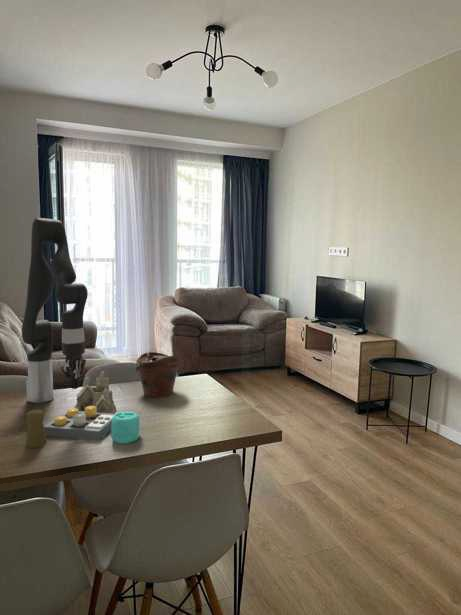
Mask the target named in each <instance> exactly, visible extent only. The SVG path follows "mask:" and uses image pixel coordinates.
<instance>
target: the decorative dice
mask: <svg viewBox="0 0 461 615" xmlns="http://www.w3.org/2000/svg"><path fill="white" fill-rule="evenodd" d="M114 414H115V415H114V416H113V418H112V425H111V430H110V432H111V439H112V440H113V441H114V442H115V443H118V444H130V443H133V442H136V441H137V440H138V439H139V436H140V416H139V414H138V413H136V412H134V411H130V410H129V411H127V410H126V411H120V412H117V413H114Z"/></svg>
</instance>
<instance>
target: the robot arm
mask: <svg viewBox="0 0 461 615" xmlns="http://www.w3.org/2000/svg"><path fill="white" fill-rule="evenodd" d="M66 233H67V232H66V228H65V225H64V223H63V222H62V221H61V220H59V219H53V218H42V217H41V218H40V217H37V218H35V219H33V222H32V227H31V245H30V246H31V247H30V248H31V249H30V250H31V251H30V253H31V254H30V263H29V264H30V265H29V273H28V280H27V290H26V291H27V295H26V304H25V310H24V315H23V320H22V326H21V338H22V341H23V343H24V344H25V345H35V344H38V345H37V346H36V348H34V349H32V350H31V351H30V350H29V352H28V353H27V355H26V356H27V357H26V358H27V373H28V374H27V377H26V379H25V381H26V382H25V384H26V401H27V402H30V403H33V404H43V403H47V402H50V401H52V400H54V381H53V380H54V378H53V376H54V375H53V359H52V358H53V357H52V356H53V355H52V354H53V343H54V342H53V341H54V340H53V338H54V336H53V334H54V332H53V330H54V329H53V326H52V324H51V322H50V321H49V320H48V319H39V320H38V316H39V314H40V311H41V310H42V308H43V307H44V306H45V305H46V303H47V302H48V301H49V299H50V298H51V297H52V294H53V292H54V291H53V290H54V285H55V296H54V297H55V299H56V301H57V302H58V303H59V304H60V305H74V306H73V307H72V309H69V310H65V311H63V312H62V314H61V348H62V349H61V351H62V352H61V353H62V355H64V356H65V360H64V361H65V364H64V365H63V366H62V365H61V370H62V372H63V374H64V375H65V377H66V378H67V379H69V380H70V388H71V389H72V390H77V389H79V387H80V384H79V383H80V382H79V378H80V377H81V375H82V374H83V372H84V369H85V364H86V363H87V360H86V359H85V358H83V354H85V353H86V349H85V348H86V346H85V341H86V340H85V330H84V312H85V308H86V303H87V299H88V296H89V295H88V294H89V292H88V288H87V286H86V285H85V284H84V283H79V282H78V283H74V282H76V281H77V275H76V271H75V269H74V265H73V263H72V260H71V257H70V250H69V243H68V239H67V234H66ZM43 244H49V245H50V244H51V245H56V246H57V249H56V252H55V253H54V255H53V257H52V259H51V266H50V265H49V264H48V262H47V260H46V258H45V256H44V251H43ZM54 283H55V284H54Z"/></svg>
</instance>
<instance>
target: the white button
mask: <svg viewBox="0 0 461 615" xmlns="http://www.w3.org/2000/svg"><path fill="white" fill-rule="evenodd" d="M85 424H86V415H85V414H76V415H74V416H73V425H74V426H84V425H85Z"/></svg>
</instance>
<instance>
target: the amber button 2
mask: <svg viewBox="0 0 461 615" xmlns="http://www.w3.org/2000/svg"><path fill="white" fill-rule="evenodd" d="M66 412H67V417H69V418H73V416H74V415H76V414H79V409H77V408H75V407H73V408H68V409H66Z"/></svg>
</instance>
